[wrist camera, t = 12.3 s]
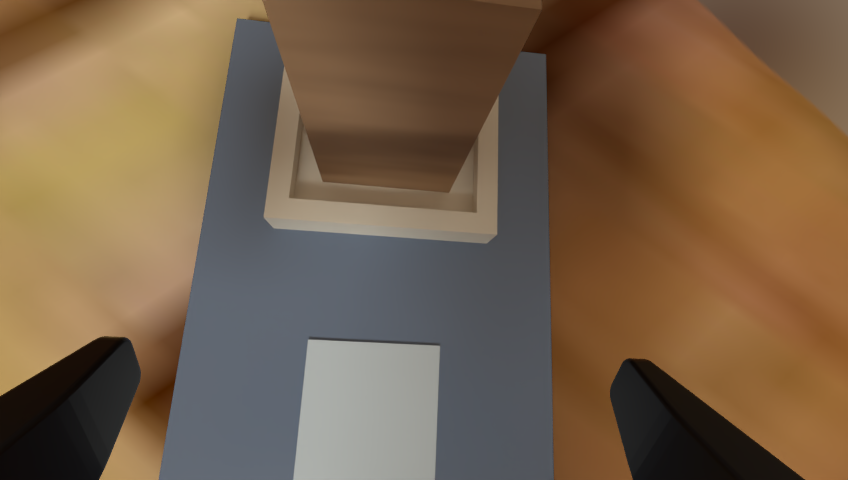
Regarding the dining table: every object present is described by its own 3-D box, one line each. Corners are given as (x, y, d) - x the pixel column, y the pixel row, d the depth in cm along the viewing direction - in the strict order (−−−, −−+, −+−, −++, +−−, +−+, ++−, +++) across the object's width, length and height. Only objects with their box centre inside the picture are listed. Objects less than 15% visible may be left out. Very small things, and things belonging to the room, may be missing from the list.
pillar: (449, 192, 17) (541, 9, 8) (322, 181, 17) (253, -28, 7) (453, 82, 19) (539, -199, 9) (335, 68, 18) (289, -243, 8)
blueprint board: (547, 586, 16) (576, 628, 14) (150, 588, 15) (108, 635, 12) (539, 64, 21) (560, 31, 19) (242, 30, 20) (224, -11, 17)
